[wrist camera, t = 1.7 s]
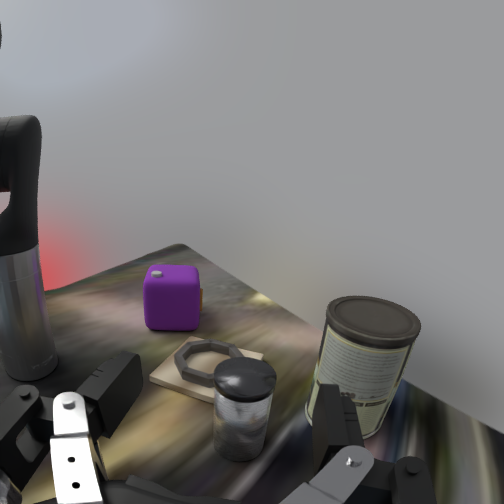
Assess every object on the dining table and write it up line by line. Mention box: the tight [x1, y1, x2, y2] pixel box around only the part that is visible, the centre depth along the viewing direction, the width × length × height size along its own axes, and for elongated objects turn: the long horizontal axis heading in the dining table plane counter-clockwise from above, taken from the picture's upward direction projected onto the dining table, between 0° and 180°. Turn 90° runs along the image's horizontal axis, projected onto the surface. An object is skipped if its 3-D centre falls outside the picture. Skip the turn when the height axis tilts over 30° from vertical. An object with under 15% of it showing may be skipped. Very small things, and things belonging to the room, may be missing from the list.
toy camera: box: [143, 265, 203, 331], centre depth 53 cm, size 11×14×10 cm
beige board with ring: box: [149, 336, 264, 404], centre depth 39 cm, size 12×12×2 cm
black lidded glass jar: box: [214, 357, 276, 462], centre depth 26 cm, size 5×5×10 cm
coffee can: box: [305, 296, 421, 439], centre depth 31 cm, size 10×10×14 cm
